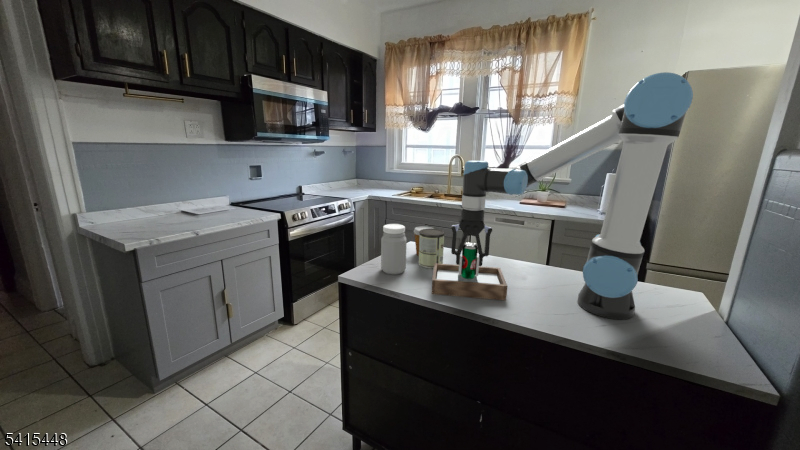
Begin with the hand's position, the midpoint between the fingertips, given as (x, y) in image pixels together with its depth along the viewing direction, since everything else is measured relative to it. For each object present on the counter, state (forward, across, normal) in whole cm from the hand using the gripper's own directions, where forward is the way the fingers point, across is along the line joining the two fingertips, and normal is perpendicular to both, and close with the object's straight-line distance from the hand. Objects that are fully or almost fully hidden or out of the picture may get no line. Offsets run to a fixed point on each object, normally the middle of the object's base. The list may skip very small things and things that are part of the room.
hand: (468, 273), depth 113 cm
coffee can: (+5, +14, -20) cm, 25 cm away
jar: (+5, +28, -10) cm, 30 cm away
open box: (+5, 0, 0) cm, 5 cm away
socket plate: (+5, 0, 0) cm, 5 cm away
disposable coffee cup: (+5, +18, -32) cm, 37 cm away
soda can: (+1, 0, 0) cm, 1 cm away
